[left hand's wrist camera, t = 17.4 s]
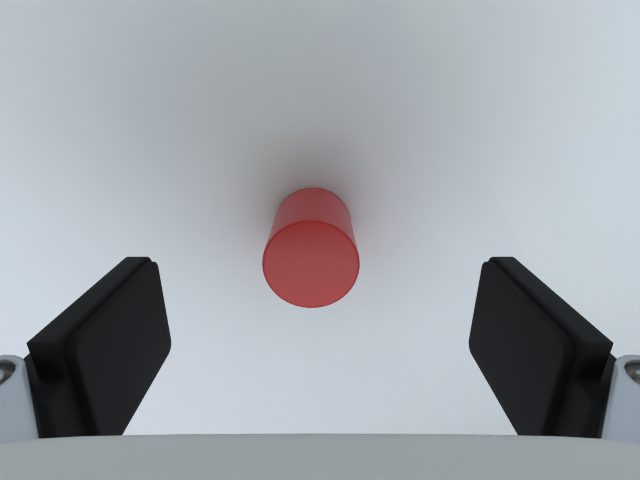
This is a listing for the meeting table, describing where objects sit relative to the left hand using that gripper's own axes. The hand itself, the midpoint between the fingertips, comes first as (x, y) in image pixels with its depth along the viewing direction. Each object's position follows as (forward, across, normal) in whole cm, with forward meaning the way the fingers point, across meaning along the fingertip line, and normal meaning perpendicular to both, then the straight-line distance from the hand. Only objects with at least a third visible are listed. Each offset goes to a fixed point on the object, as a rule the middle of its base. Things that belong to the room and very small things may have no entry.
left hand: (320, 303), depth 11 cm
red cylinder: (+8, 0, 0) cm, 8 cm away
